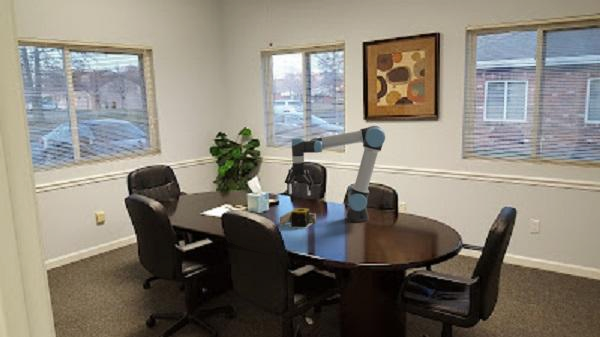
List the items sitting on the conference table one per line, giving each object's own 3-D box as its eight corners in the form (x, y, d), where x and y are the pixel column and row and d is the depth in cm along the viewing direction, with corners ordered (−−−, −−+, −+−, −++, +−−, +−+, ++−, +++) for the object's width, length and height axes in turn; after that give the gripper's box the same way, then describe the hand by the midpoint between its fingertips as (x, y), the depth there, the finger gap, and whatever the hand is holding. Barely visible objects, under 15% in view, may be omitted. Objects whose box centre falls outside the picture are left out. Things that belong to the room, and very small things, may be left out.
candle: (291, 226, 294) (290, 211, 292) (295, 222, 304) (294, 207, 302) (306, 227, 291) (305, 212, 290) (309, 222, 301) (309, 208, 299)
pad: (312, 223, 300) (312, 223, 300) (304, 228, 290) (304, 228, 290) (296, 221, 306) (296, 221, 305) (288, 226, 295) (288, 226, 295)
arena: (316, 222, 302) (315, 213, 301) (306, 228, 289) (305, 219, 288) (291, 219, 311) (290, 211, 310) (280, 225, 298) (279, 217, 297)
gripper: (318, 162, 288) (319, 194, 292) (284, 160, 299) (285, 191, 303) (313, 163, 281) (314, 197, 285) (278, 162, 293) (280, 194, 296)
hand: (299, 194), depth 294 cm, fingers open, 13 cm apart
